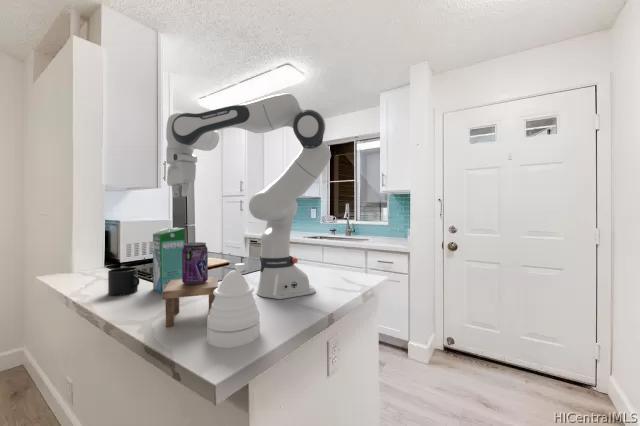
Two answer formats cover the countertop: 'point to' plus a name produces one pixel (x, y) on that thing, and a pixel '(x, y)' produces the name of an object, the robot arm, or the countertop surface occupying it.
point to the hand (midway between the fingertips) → (180, 196)
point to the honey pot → (233, 312)
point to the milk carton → (167, 257)
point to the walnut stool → (186, 295)
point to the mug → (123, 281)
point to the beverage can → (194, 263)
